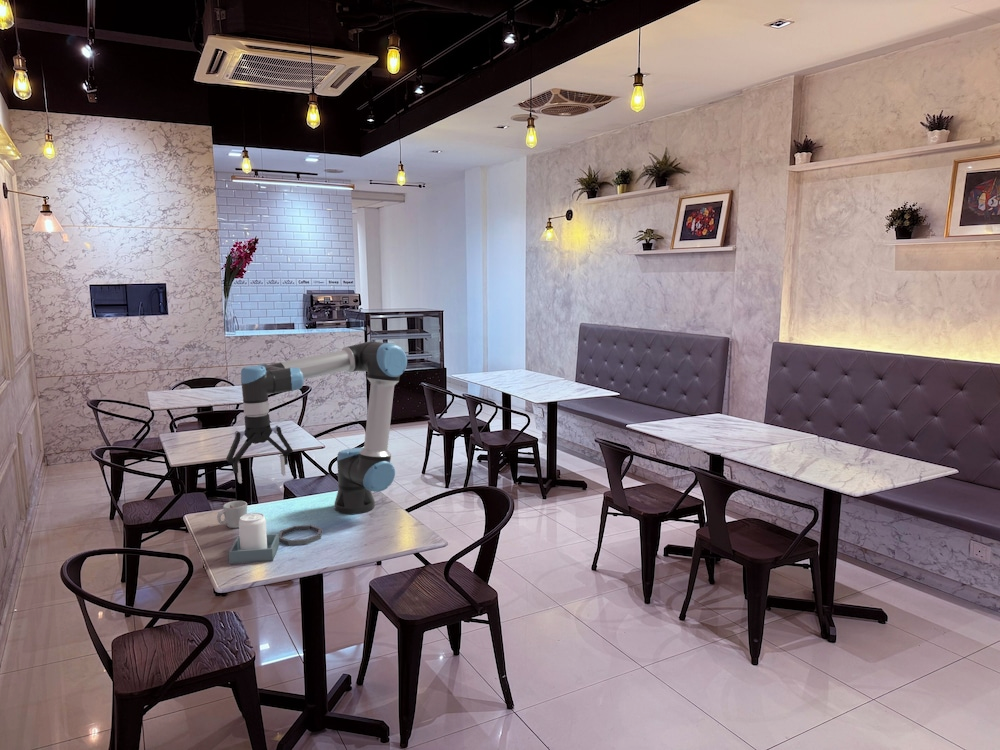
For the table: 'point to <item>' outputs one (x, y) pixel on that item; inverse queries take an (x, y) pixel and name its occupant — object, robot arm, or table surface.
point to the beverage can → (252, 531)
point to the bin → (254, 551)
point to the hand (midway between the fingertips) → (262, 478)
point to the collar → (300, 541)
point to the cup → (232, 513)
